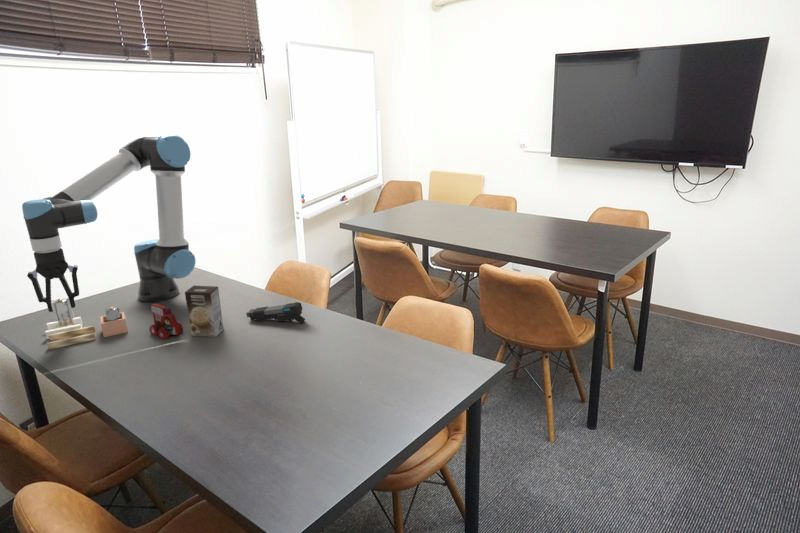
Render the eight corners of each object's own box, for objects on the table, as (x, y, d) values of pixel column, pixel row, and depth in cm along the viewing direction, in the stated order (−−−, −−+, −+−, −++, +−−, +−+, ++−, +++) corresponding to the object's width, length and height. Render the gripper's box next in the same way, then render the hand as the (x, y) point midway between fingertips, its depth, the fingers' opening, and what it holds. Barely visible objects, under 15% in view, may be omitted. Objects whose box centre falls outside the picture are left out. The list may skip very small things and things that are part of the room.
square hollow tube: (127, 325, 173) (123, 311, 171) (128, 333, 167) (125, 318, 165) (103, 330, 169) (100, 316, 168) (104, 338, 163) (100, 323, 162)
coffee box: (190, 336, 164) (183, 292, 159) (199, 328, 170) (192, 285, 165) (216, 337, 163) (209, 292, 158) (224, 328, 169) (218, 285, 164)
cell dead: (122, 327, 170) (118, 304, 168) (121, 331, 167) (117, 308, 164) (109, 329, 169) (105, 306, 166) (108, 333, 165) (103, 310, 163)
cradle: (82, 324, 175) (80, 316, 174) (82, 333, 168) (80, 325, 167) (48, 330, 170) (46, 323, 169) (47, 340, 163) (45, 332, 162)
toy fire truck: (169, 343, 160) (163, 314, 157) (147, 334, 166) (142, 306, 163) (187, 335, 165) (183, 306, 162) (166, 326, 172) (161, 299, 168)
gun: (304, 324, 171) (292, 299, 168) (256, 338, 176) (244, 314, 174) (308, 319, 175) (297, 294, 173) (262, 332, 180) (250, 309, 178)
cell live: (73, 320, 162) (67, 296, 159) (73, 324, 159) (67, 299, 156) (58, 322, 160) (52, 298, 157) (58, 327, 157) (52, 302, 154)
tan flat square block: (73, 325, 172) (72, 322, 171) (73, 330, 168) (72, 327, 167) (57, 329, 169) (56, 326, 169) (56, 334, 166) (55, 331, 165)
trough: (95, 332, 168) (94, 325, 167) (96, 340, 162) (94, 333, 161) (50, 341, 162) (48, 334, 161) (49, 351, 156) (47, 343, 155)
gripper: (79, 243, 159) (94, 309, 166) (16, 251, 151) (35, 320, 158) (78, 248, 153) (94, 316, 160) (13, 257, 144) (32, 328, 152)
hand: (64, 318), depth 159 cm, fingers closed on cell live, 3 cm apart
